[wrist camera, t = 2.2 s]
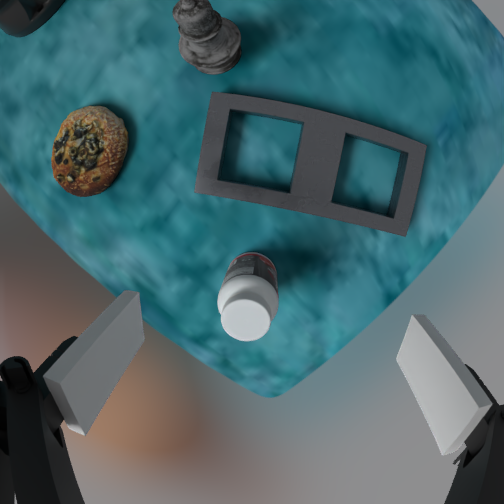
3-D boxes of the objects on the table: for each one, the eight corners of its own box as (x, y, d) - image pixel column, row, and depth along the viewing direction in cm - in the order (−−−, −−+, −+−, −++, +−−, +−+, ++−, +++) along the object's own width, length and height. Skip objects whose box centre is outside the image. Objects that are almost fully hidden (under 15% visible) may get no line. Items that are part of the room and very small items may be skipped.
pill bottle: (284, 285, 32) (290, 335, 23) (241, 303, 33) (231, 356, 24) (263, 242, 30) (261, 280, 21) (218, 262, 31) (199, 306, 22)
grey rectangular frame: (199, 190, 29) (194, 192, 27) (215, 95, 26) (212, 91, 24) (398, 232, 29) (405, 236, 27) (417, 145, 26) (426, 145, 24)
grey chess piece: (235, 81, 25) (214, 36, 14) (181, 73, 25) (133, 32, 14) (250, 34, 23) (239, -27, 12) (197, 27, 23) (161, -29, 12)
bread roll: (79, 213, 31) (53, 217, 26) (54, 142, 29) (29, 137, 24) (148, 164, 29) (126, 158, 24) (116, 90, 27) (94, 77, 23)
